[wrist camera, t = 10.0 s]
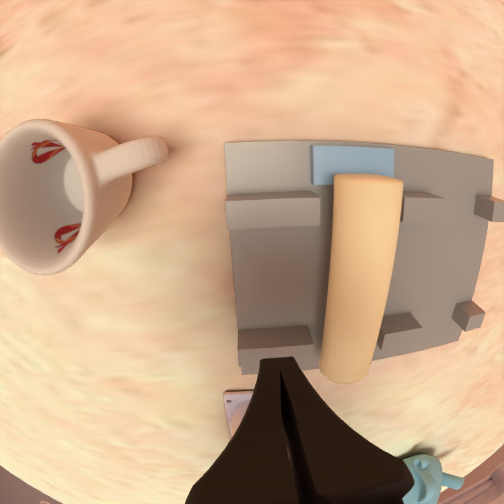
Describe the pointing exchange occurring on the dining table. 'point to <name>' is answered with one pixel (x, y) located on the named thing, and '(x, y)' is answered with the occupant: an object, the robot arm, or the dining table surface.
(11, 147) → the cup
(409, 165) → the board
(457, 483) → the teapot
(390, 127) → the dining table surface
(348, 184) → the tan tapered cylinder
